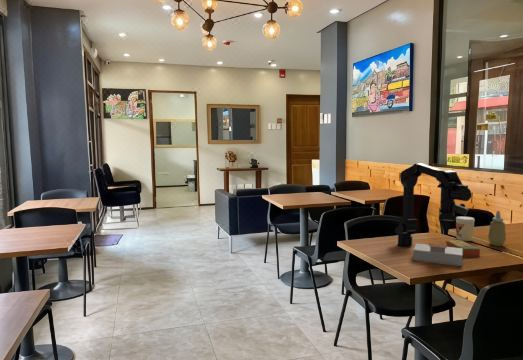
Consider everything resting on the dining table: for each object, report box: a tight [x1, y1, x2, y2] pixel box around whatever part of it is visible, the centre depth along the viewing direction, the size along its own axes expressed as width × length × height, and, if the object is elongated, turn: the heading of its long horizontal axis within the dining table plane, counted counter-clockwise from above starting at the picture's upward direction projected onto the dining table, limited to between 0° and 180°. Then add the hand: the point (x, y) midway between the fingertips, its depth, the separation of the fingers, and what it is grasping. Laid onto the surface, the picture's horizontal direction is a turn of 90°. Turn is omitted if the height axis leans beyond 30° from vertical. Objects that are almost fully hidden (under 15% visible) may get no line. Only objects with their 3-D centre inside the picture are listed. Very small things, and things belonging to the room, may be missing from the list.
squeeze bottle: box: [487, 210, 507, 247], centre depth 203 cm, size 8×8×18 cm
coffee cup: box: [455, 215, 476, 242], centre depth 216 cm, size 9×9×12 cm
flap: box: [413, 241, 463, 256], centre depth 179 cm, size 20×12×5 cm, turn 63°
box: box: [412, 250, 463, 267], centre depth 180 cm, size 20×12×4 cm, turn 63°
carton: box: [445, 239, 481, 258], centre depth 192 cm, size 8×16×4 cm, turn 3°
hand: (446, 232), depth 178 cm, fingers open, 9 cm apart
